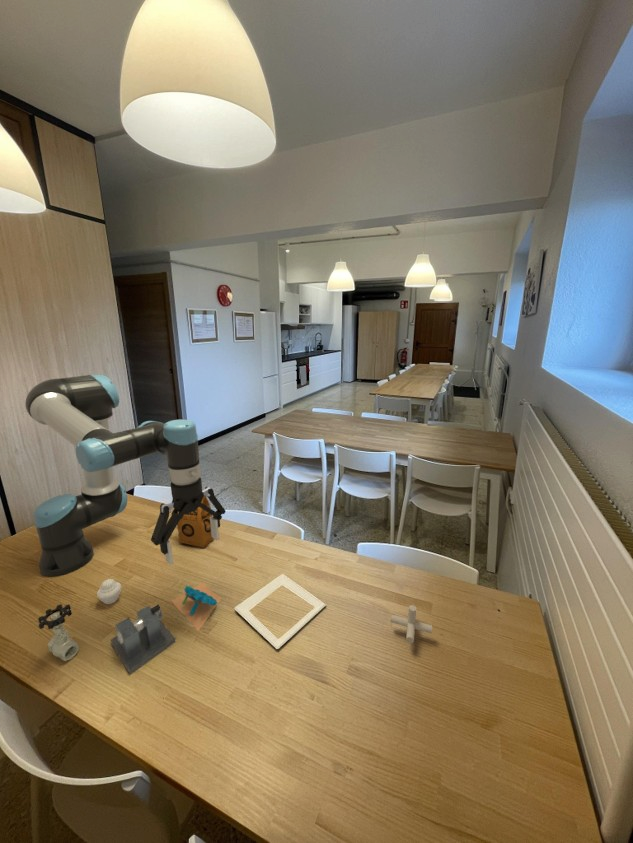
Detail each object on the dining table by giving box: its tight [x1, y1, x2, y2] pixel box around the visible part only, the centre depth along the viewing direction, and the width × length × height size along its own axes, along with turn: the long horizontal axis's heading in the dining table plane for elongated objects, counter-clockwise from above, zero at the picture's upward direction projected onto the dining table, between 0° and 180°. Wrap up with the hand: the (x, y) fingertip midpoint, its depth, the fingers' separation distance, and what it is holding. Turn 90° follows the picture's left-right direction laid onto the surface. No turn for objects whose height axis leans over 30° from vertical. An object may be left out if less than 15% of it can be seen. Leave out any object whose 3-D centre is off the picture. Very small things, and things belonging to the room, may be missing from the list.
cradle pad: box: [171, 582, 221, 632], centre depth 96 cm, size 15×10×1 cm, turn 49°
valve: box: [37, 604, 80, 662], centre depth 80 cm, size 7×7×12 cm
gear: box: [182, 584, 218, 615], centre depth 94 cm, size 11×6×10 cm
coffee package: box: [176, 489, 215, 548], centre depth 123 cm, size 10×12×22 cm
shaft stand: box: [110, 604, 176, 675], centre depth 83 cm, size 12×11×8 cm
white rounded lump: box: [96, 578, 122, 605], centre depth 97 cm, size 6×6×7 cm
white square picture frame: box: [233, 573, 327, 650], centre depth 94 cm, size 19×19×2 cm
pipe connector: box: [390, 604, 433, 644], centre depth 84 cm, size 10×10×10 cm
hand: (193, 549), depth 91 cm, fingers open, 13 cm apart
